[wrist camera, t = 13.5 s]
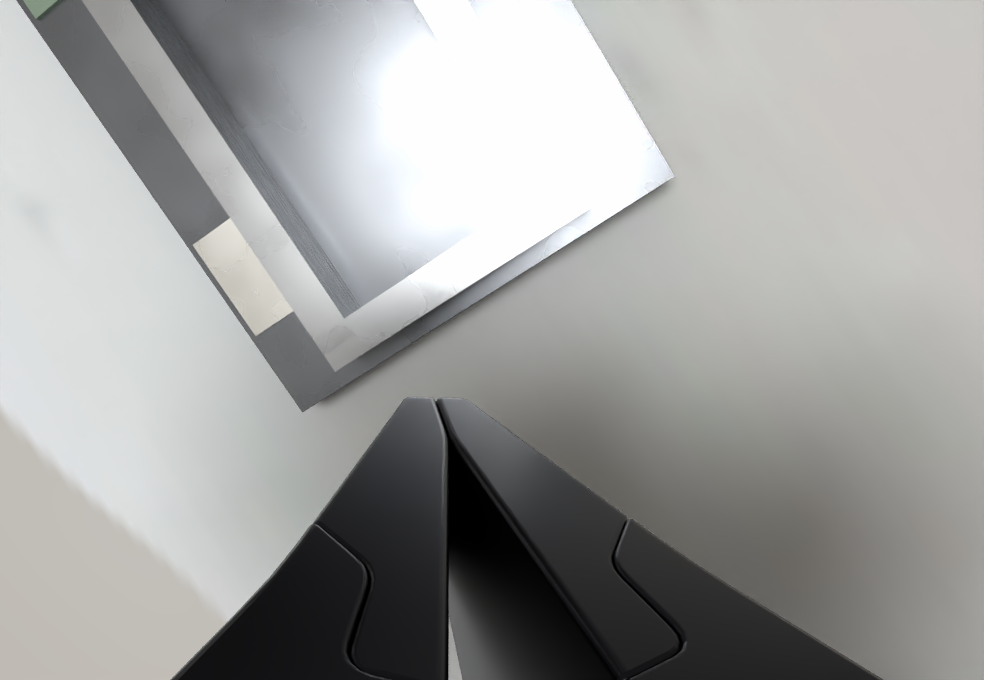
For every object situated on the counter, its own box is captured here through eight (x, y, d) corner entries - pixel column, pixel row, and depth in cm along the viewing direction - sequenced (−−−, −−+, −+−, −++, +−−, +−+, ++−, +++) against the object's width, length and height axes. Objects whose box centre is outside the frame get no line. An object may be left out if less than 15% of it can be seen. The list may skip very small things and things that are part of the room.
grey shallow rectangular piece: (666, 178, 18) (687, 172, 15) (317, 400, 20) (279, 430, 17) (284, -466, 16) (227, -610, 13) (-56, -141, 18) (-167, -206, 15)
